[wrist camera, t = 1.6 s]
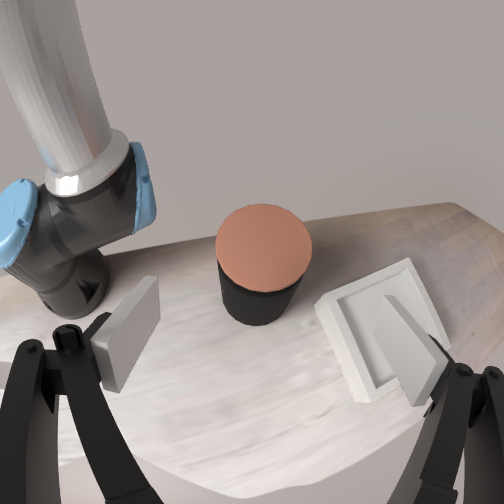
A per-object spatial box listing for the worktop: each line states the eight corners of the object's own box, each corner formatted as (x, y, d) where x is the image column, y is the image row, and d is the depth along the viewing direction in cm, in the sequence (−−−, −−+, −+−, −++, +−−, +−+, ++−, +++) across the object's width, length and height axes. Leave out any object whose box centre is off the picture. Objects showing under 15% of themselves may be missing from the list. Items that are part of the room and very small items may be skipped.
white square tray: (312, 306, 47) (323, 294, 41) (392, 271, 51) (408, 257, 45) (354, 402, 40) (371, 402, 34) (431, 353, 43) (451, 347, 38)
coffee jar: (247, 255, 50) (252, 189, 34) (299, 289, 48) (329, 235, 32) (209, 302, 46) (194, 252, 30) (263, 340, 44) (278, 310, 28)
